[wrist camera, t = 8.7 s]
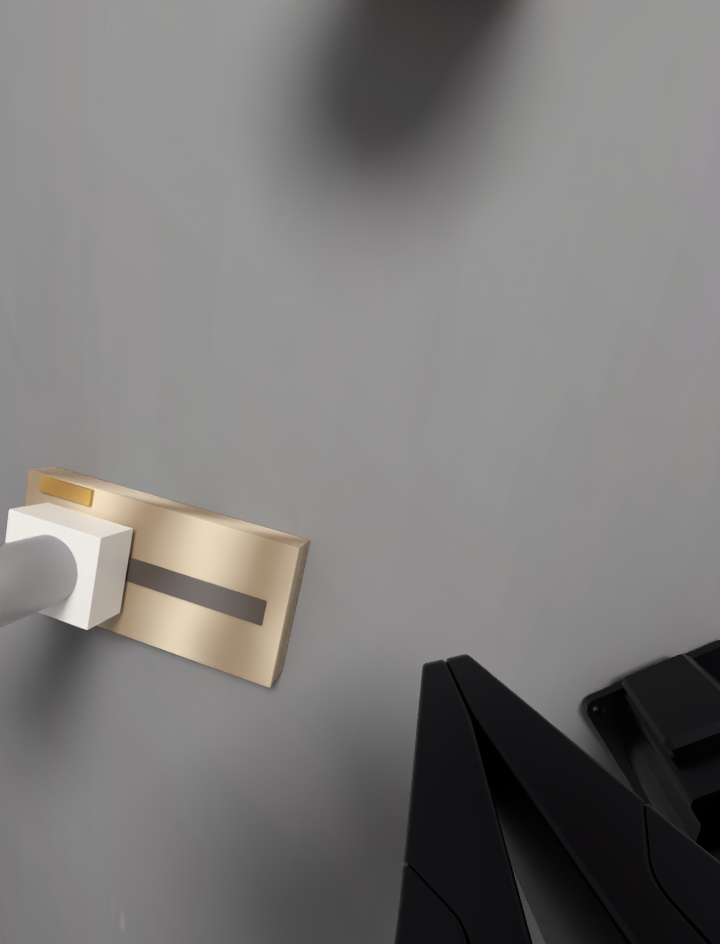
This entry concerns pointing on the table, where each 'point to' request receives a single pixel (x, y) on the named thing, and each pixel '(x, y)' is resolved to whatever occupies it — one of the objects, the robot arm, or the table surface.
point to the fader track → (193, 575)
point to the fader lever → (62, 565)
